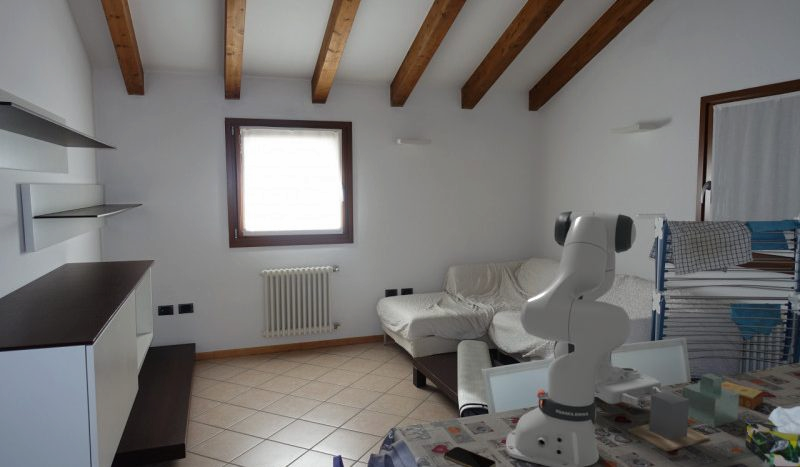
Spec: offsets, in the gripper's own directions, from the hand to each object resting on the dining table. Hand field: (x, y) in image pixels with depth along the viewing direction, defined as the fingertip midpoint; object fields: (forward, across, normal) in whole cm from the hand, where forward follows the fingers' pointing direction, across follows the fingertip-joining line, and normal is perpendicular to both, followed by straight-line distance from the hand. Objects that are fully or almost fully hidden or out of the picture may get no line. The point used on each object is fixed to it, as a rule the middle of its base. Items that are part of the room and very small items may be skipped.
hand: (651, 399), depth 144 cm
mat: (+6, 0, +8) cm, 10 cm away
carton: (-4, +40, +8) cm, 41 cm away
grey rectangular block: (+6, 0, +7) cm, 9 cm away
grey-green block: (+2, +21, +8) cm, 22 cm away
